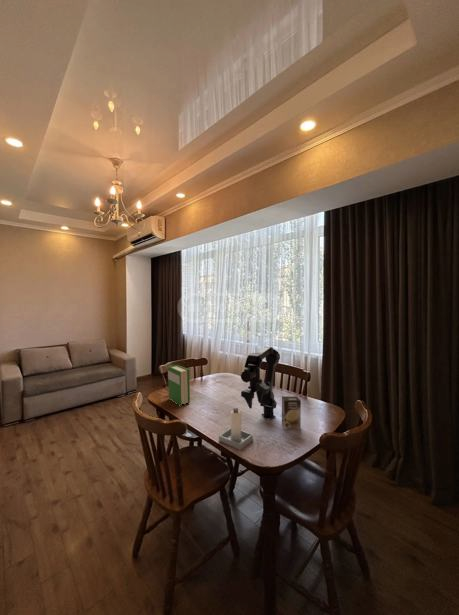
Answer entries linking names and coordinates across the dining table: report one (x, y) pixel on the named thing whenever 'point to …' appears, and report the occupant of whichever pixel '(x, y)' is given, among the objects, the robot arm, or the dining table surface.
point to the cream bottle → (236, 425)
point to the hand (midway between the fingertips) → (255, 405)
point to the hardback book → (179, 384)
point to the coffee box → (291, 412)
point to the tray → (227, 440)
